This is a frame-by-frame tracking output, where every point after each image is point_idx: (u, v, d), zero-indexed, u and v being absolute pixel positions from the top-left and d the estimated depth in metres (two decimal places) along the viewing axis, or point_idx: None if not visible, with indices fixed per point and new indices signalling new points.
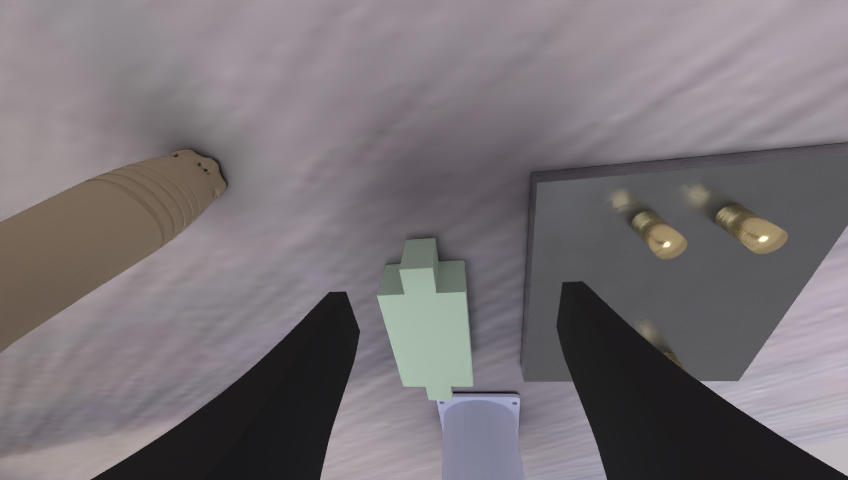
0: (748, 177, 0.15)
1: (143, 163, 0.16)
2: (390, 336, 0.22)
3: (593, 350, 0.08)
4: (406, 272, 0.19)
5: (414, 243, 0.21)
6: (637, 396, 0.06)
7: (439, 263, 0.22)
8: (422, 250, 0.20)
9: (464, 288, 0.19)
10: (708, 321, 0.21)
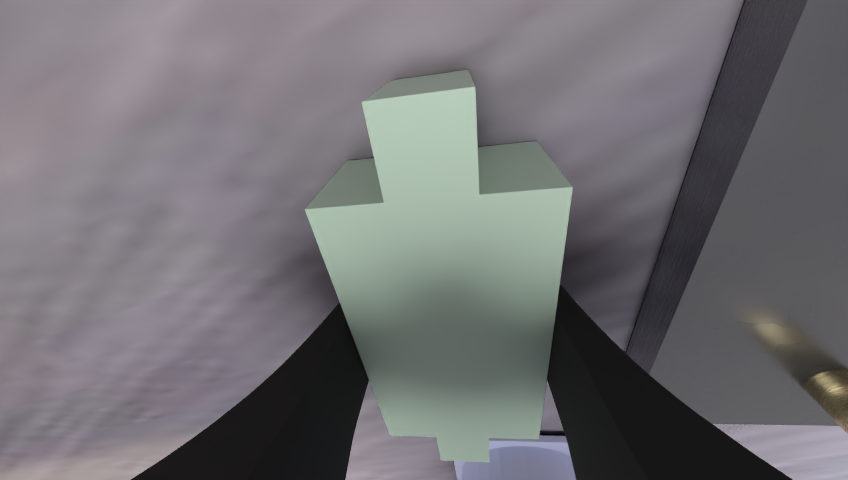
0: None
1: None
2: (354, 329, 0.09)
3: (562, 350, 0.08)
4: (386, 113, 0.06)
5: (413, 79, 0.08)
6: (596, 396, 0.06)
7: None
8: (436, 80, 0.07)
9: (564, 180, 0.06)
10: None
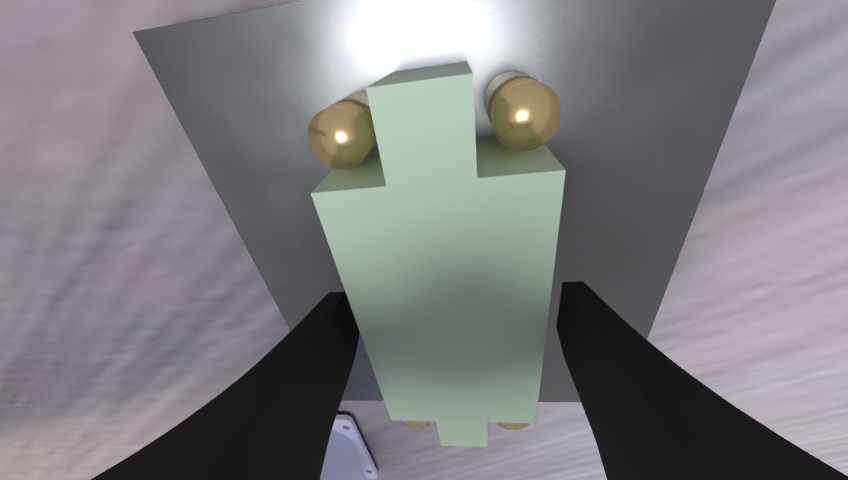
0: (512, 1, 0.07)
1: None
2: (356, 313, 0.09)
3: (593, 350, 0.08)
4: (389, 99, 0.06)
5: (414, 69, 0.08)
6: (637, 396, 0.06)
7: None
8: (436, 69, 0.07)
9: (558, 165, 0.07)
10: None
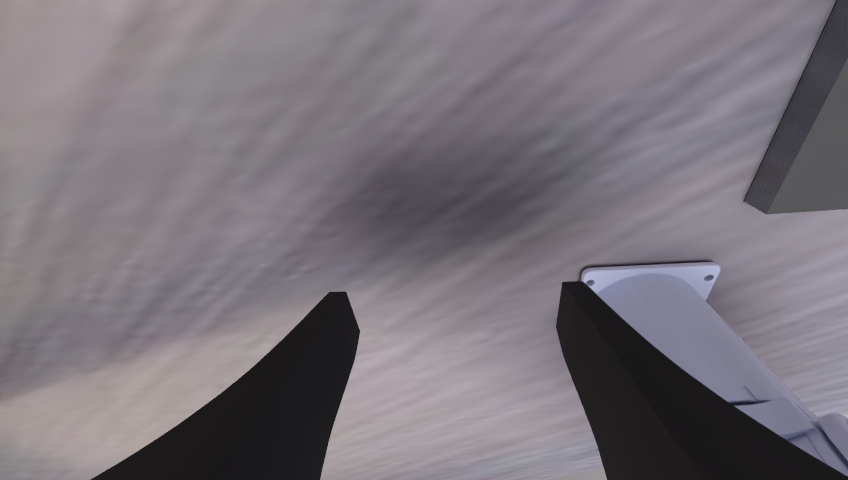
0: None
1: None
2: None
3: (593, 350, 0.08)
4: None
5: None
6: (637, 396, 0.06)
7: None
8: None
9: None
10: None
